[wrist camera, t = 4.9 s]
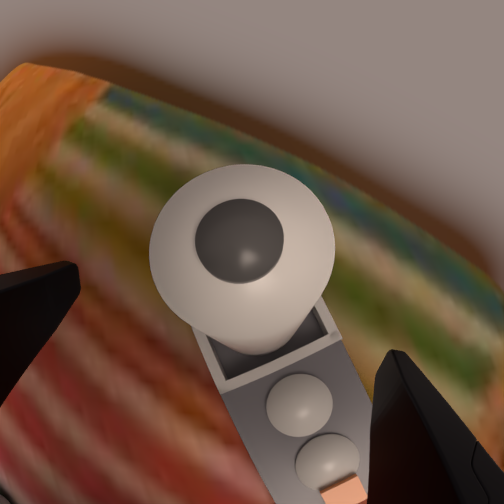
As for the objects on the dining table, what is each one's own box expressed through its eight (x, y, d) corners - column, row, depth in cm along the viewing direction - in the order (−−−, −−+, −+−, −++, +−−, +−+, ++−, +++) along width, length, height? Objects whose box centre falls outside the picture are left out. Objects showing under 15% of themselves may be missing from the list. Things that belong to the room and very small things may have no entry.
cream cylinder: (232, 369, 15) (183, 369, 6) (198, 290, 16) (127, 201, 8) (314, 332, 15) (372, 282, 7) (276, 256, 17) (282, 137, 8)
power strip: (393, 466, 14) (410, 478, 11) (288, 517, 13) (291, 536, 11) (284, 242, 19) (286, 223, 16) (180, 287, 18) (168, 274, 16)
